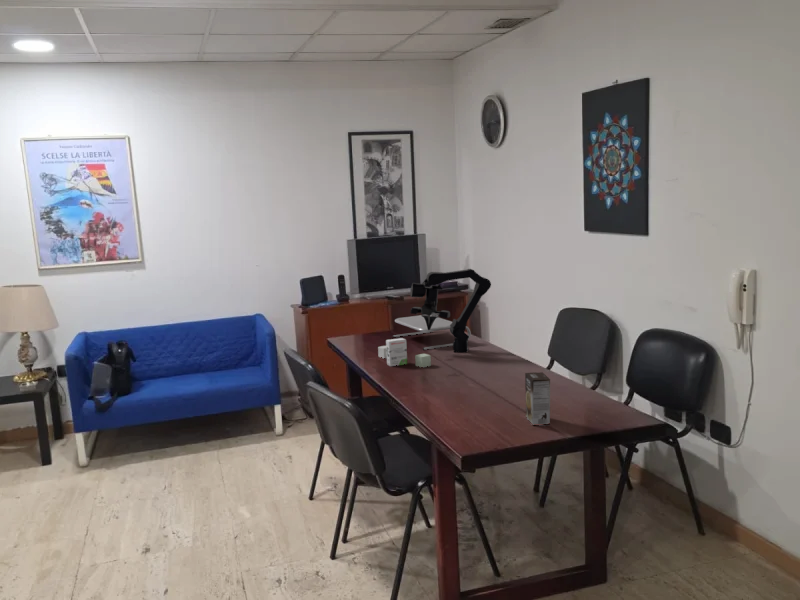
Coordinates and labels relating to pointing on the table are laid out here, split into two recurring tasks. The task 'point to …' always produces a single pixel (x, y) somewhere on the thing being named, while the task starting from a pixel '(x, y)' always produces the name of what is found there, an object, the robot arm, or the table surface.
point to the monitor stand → (425, 327)
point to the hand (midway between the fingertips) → (428, 329)
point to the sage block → (423, 360)
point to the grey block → (382, 352)
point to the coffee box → (537, 398)
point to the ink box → (396, 352)
